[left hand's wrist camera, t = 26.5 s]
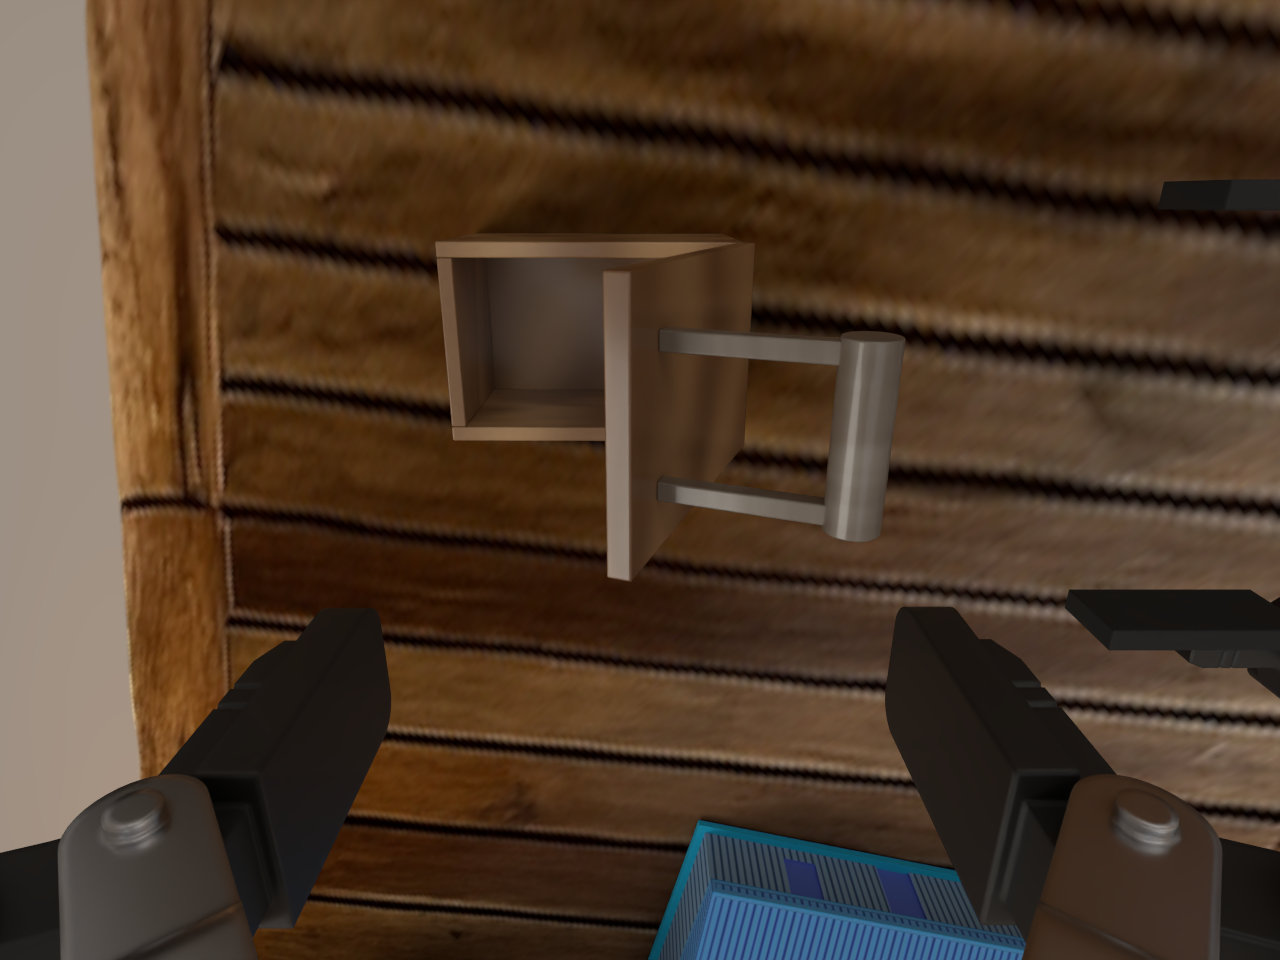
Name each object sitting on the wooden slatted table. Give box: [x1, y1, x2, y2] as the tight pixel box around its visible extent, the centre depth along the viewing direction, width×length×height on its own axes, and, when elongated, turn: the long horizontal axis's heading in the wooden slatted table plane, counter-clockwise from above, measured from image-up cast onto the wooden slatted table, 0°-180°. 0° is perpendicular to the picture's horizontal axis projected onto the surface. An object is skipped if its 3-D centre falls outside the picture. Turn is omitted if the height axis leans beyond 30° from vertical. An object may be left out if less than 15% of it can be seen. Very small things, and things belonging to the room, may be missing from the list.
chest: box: [435, 233, 744, 441], centre depth 39 cm, size 14×10×9 cm
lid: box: [603, 243, 905, 581], centre depth 27 cm, size 15×10×8 cm
